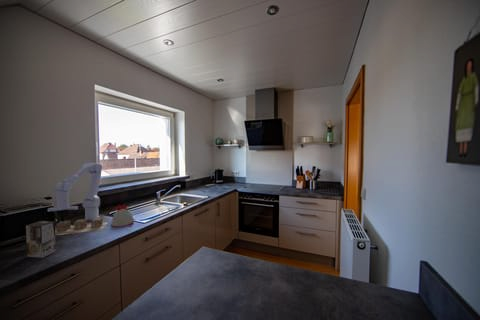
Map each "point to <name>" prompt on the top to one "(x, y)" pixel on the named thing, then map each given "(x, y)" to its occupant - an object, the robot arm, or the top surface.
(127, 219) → the white red-topped dome
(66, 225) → the plain block
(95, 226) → the two bar block
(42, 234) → the coffee box
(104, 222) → the board
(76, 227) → the one bar block
